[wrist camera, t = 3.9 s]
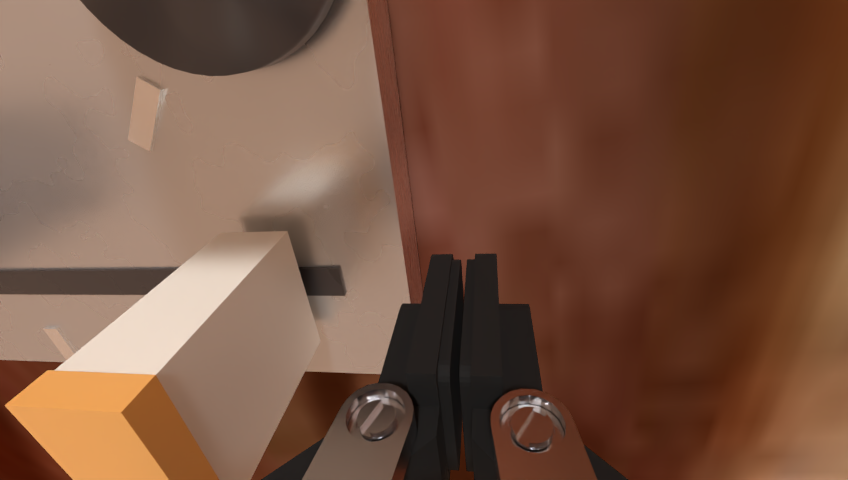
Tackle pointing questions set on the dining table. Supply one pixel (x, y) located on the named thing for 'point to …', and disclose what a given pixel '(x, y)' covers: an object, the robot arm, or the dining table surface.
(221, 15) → the dial
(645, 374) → the dining table surface
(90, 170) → the console
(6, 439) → the dining table surface
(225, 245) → the fader tab
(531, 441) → the robot arm
